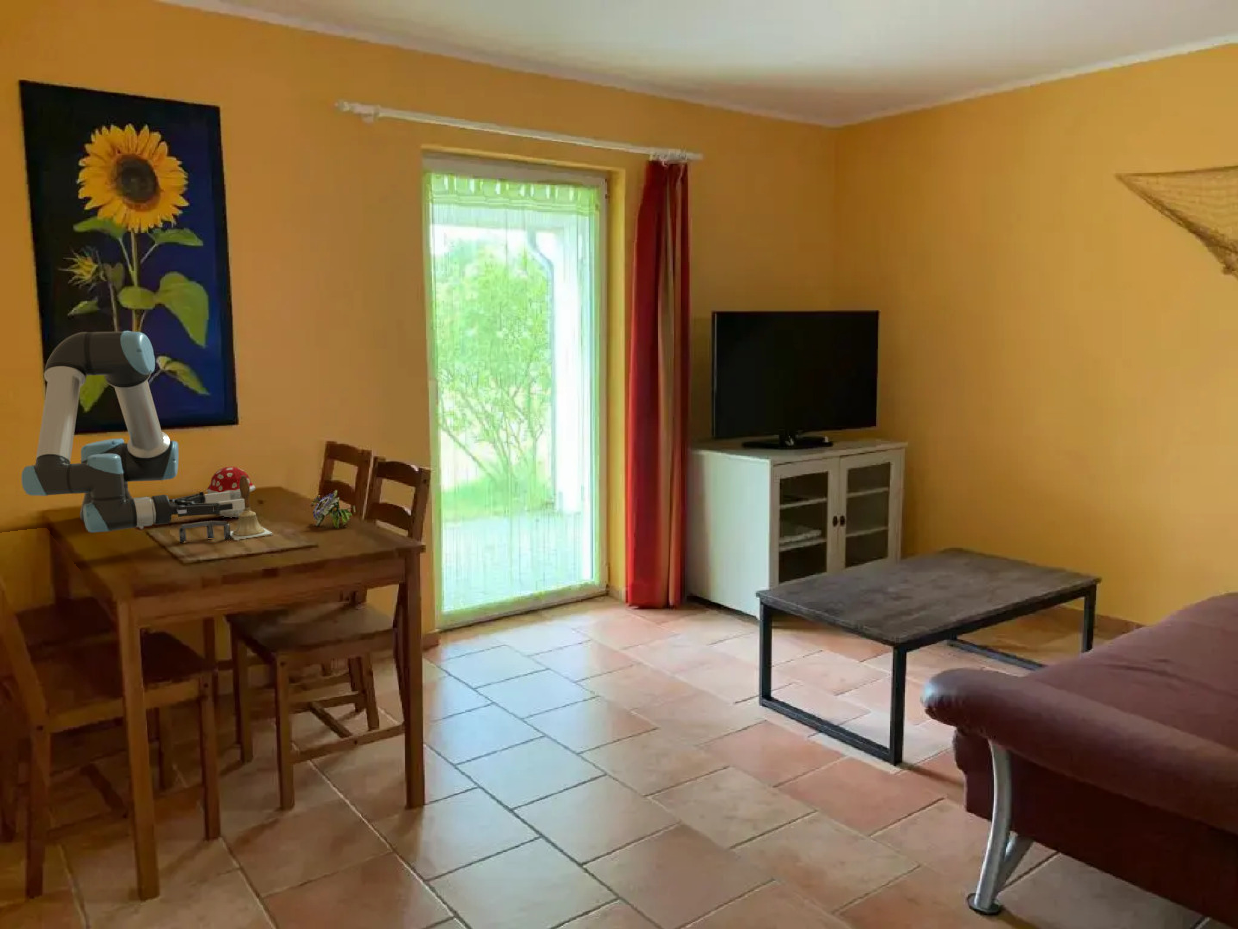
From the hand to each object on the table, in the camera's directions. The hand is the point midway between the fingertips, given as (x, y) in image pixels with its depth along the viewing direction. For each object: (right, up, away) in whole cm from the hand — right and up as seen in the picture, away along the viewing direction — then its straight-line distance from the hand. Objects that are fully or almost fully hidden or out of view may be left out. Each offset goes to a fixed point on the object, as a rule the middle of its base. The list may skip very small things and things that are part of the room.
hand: (237, 500), depth 261 cm
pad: (+2, -10, +3) cm, 10 cm away
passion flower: (+22, -8, +15) cm, 27 cm away
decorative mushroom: (-12, -6, +28) cm, 32 cm away
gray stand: (-7, -11, -3) cm, 13 cm away
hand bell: (+2, -9, +3) cm, 10 cm away
